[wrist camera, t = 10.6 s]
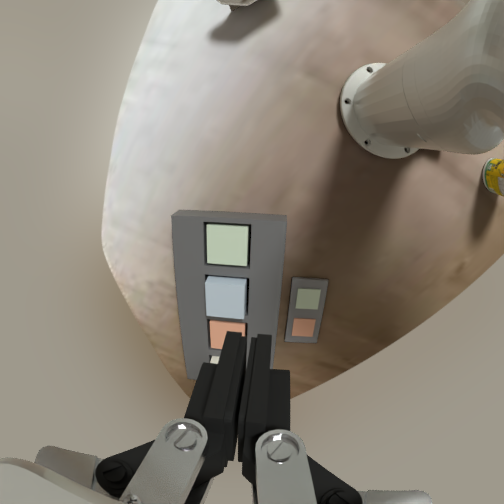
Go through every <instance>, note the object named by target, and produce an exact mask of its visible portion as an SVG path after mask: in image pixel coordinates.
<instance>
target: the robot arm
mask: <svg viewBox="0 0 504 504" xmlns="http://www.w3.org/2000/svg"><path fill="white" fill-rule="evenodd" d="M367 70H369V73H368V72H367ZM345 101H347V102H348V104H345ZM340 111H341V116H342V119H343V122H344V124H345V126H346V129H347V131H348V132H349V134H350V135H351V136H352V138H353V139H354V140H355V141H356V142H357V143H358V144H359V145H360V146H361V147H362V148H364V149H365V150H367V151H368V152H370V153H372V154H374V155H376V156H380V157H384V158H390V159H397V158H403V157H407V156H409V155H411V154H413V153H415V152H416V151H417V150H419V149H430V150H439V151H447V152H455V153H461V154H482V153H485V152H488V151H490V150H492V149H493V148H495V147H496V146H498V145H499V144H500V143H501V142H502V140H503V139H504V0H471V1H469V3H468V4H467V5H466V6H465V7H464V8H463V9H462V10H461V11H460V12H459V13H458V14H457V15H456V16H455V17H454V18H453V19H452V20H450V21H449V22H448V23H447V24H446V25H444V26H443V27H442V28H440V29H439V30H437V31H436V32H434V33H433V34H432V35H430V36H429V37H427V38H426V39H424V40H423V41H421V42H419V43H418V44H416V45H415V46H414V47H412V48H410V49H409V50H407V51H406V52H404V53H403V54H401V55H400V56H398V57H397V58H395V59H394V60H392V61H391V62H389V63H388V64H386V63H371V64H367V65H364V66H362V67H360V68H358V69H357V70H355V71H354V72H353V73H352V74H351V75H350V76H349V77H348V79H347V80H346V82H345V84H344V85H343V88H342V91H341V95H340ZM365 141H367V144H365V143H364V142H365ZM404 148H406V151H404ZM271 344H272V335H268V334H257V337H251V343H250V349H249V356H248V362H247V368H246V355H247V337H246V336H242V332H233V331H227V332H226V336H225V339H224V343H223V347H222V350H221V354H220V357H219V361H218V364H214V363H206V362H203V364H202V366H201V369H200V372H199V375H198V378H197V381H196V384H195V387H194V390H193V393H192V395H191V398H190V401H189V405H188V407H187V411H186V414H185V417H184V418H182V419H176V420H172V421H170V422H169V423H167V424H166V425H165V426H164V427H163V428H162V430H161V432H160V433H159V435H158V437H157V438H156V440H153V441H151V442H148V443H146V444H143V445H141V446H138V447H136V448H133V449H130V450H128V451H125V452H122V453H119V454H116V455H114V456H111V457H108V458H106V459H100V458H97V456H94V455H89V454H84V453H79V452H75V451H70V450H66V449H62V448H58V447H55V446H46V447H43V448H42V449H41V450H39V452H38V454H37V456H36V459H35V463H33V462H30V461H26V460H23V459H18V458H1V459H0V504H204V502H205V499H206V497H207V494H208V492H209V489H210V487H211V485H212V483H213V480H214V477H215V476H217V475H219V474H221V473H223V471H224V467H227V463H228V461H233V460H234V455H235V449H236V443H237V437H238V461H239V462H242V475H243V476H244V477H245V478H246V479H247V480H248V481H249V482H250V483H251V488H252V502H253V504H432V500H431V497H430V496H429V494H427V493H425V492H424V491H419V490H412V491H379V490H368V491H367V492H363V491H356V490H355V489H354V488H352V487H351V486H349V485H348V484H346V483H345V482H344V481H342V480H341V479H339V478H338V477H336V476H335V475H334V474H332V473H331V472H329V471H328V470H326V469H325V468H324V467H322V466H321V465H320V464H318V463H317V462H316V461H314V460H313V459H312V458H310V457H309V456H308V455H307V454H306V449H305V445H304V443H303V441H302V439H301V438H300V437H299V436H298V435H296V434H295V433H293V432H291V431H290V370H277V369H270V360H271Z"/></svg>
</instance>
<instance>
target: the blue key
mask: <svg viewBox="0 0 504 504" xmlns="http://www.w3.org/2000/svg"><path fill="white" fill-rule="evenodd" d="M205 294H206V315H207V316H214V317H223V318H234V319H244V317H245V312H246V299H247V278H244V277H231V276H219V275H209V276H208V278H207V280H206V282H205Z"/></svg>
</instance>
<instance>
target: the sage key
mask: <svg viewBox="0 0 504 504" xmlns="http://www.w3.org/2000/svg"><path fill="white" fill-rule="evenodd" d="M249 242H250V224H238V223H220V222H209V223H208V224H207V263H212V264H225V265H238V266H247V263H248V259H249Z"/></svg>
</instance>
